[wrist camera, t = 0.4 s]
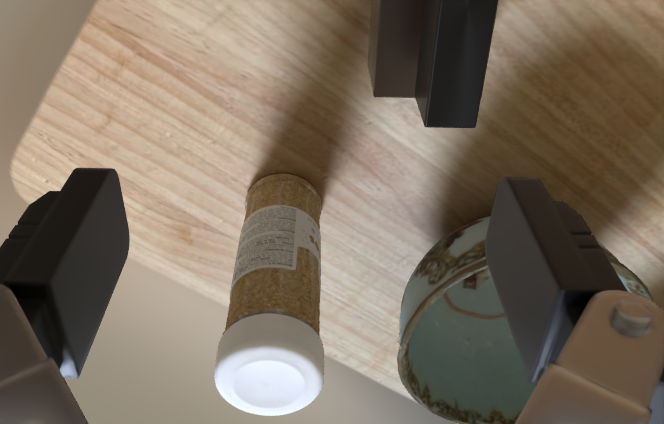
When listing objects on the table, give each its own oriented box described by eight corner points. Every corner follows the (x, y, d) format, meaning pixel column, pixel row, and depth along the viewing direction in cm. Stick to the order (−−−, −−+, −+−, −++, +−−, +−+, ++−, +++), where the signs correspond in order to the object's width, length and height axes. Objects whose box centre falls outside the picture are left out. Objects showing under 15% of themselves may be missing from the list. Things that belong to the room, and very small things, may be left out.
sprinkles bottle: (323, 231, 37) (327, 418, 26) (249, 235, 37) (221, 423, 26) (319, 166, 35) (320, 343, 24) (239, 171, 35) (203, 349, 24)
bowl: (385, 168, 35) (400, 256, 28) (621, 158, 35) (692, 244, 28) (383, 337, 43) (395, 437, 36) (576, 328, 42) (623, 427, 36)
